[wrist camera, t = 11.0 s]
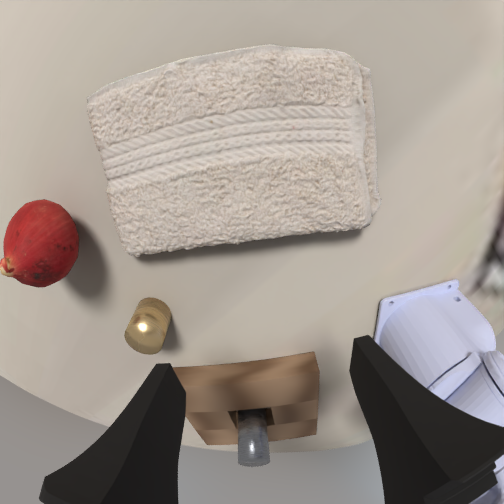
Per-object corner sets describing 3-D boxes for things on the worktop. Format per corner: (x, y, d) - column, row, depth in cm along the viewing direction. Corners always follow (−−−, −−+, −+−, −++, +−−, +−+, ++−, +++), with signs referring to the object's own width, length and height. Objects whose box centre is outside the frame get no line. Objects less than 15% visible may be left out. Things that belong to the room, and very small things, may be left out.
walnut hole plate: (314, 351, 24) (319, 371, 22) (313, 418, 30) (316, 434, 28) (170, 367, 24) (166, 386, 22) (208, 429, 30) (207, 444, 28)
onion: (109, 221, 18) (47, 276, 10) (79, 269, 19) (28, 330, 12) (58, 173, 16) (-16, 206, 9) (34, 226, 17) (-26, 271, 10)
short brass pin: (164, 295, 21) (153, 324, 17) (175, 324, 22) (167, 353, 19) (132, 299, 21) (118, 326, 18) (144, 326, 22) (133, 354, 19)
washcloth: (369, 216, 19) (388, 231, 16) (133, 251, 19) (117, 271, 17) (355, 55, 14) (374, 45, 11) (97, 99, 14) (73, 96, 11)
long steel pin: (263, 391, 26) (268, 456, 19) (265, 405, 28) (270, 465, 20) (236, 393, 26) (235, 458, 19) (239, 407, 28) (240, 467, 20)
